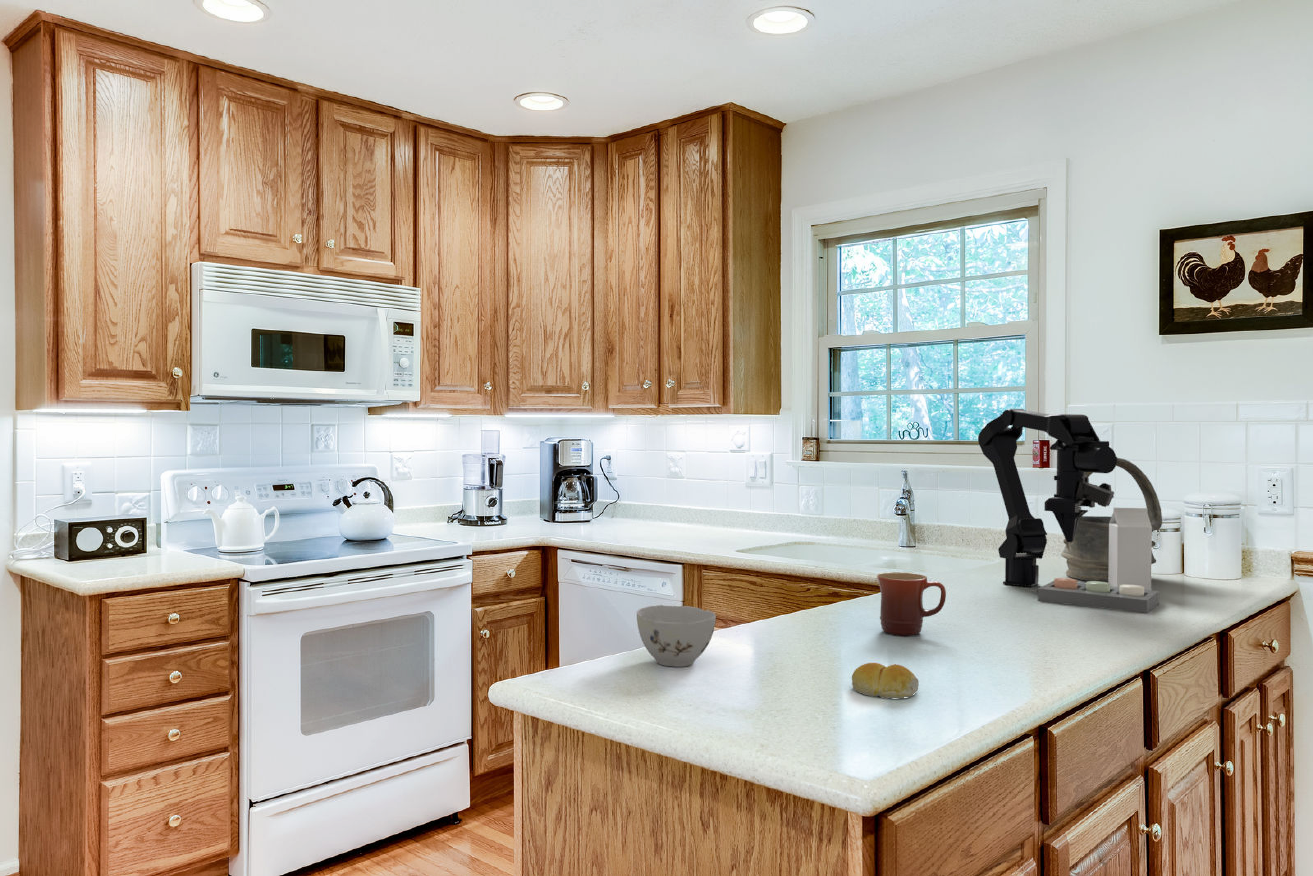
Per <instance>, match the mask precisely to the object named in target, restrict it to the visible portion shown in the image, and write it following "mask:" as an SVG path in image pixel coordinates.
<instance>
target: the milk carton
mask: <svg viewBox="0 0 1313 876" xmlns="http://www.w3.org/2000/svg"><path fill="white" fill-rule="evenodd" d="M1112 508H1113V509H1112V510H1113V511H1112V512H1113V513H1112V514H1111V516H1110V517H1111V520H1110V522H1109V571H1108V583H1110V586H1113V587H1119V585H1138V586H1143V587H1144V590H1152V564H1151V558H1152V553H1153V550H1152V549H1153V547H1152V541H1153V532H1152V526H1151V523H1150V520H1149V517H1148V514H1147V507H1145V508H1144V507H1112Z"/></svg>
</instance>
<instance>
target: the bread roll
mask: <svg viewBox="0 0 1313 876" xmlns="http://www.w3.org/2000/svg"><path fill="white" fill-rule="evenodd" d="M851 685H852V687H853V689H854V690H855V691H856V692H857V691H858V692H857V693H859V694H861V693H862V695H863V694H865V695H864V696H867V695H868V696H867V697H872V696H878V697H880V698H882V697H883V698H882V699H885V698H904V697H909V696H911V697H913V696H914V695H913V694H914V693H915V692H916V691H917V692H918V690H919V686H920V685H919V679H918V678H917V677H916V675H915V673H913V672H912V671H911V670H909V668H907V667H905V666H904V665H901V664H896V663H895V664H890V665H888V666H885V665H883V664H881V663H879V662H878V663H877V662H868V663H863V664H861V665H859V666H858V667H857V668H856V669H854V671H853V672H852V675H851ZM917 692H916V693H917ZM916 693H915V694H916ZM912 695H913V696H912ZM909 698H910V697H909Z"/></svg>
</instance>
